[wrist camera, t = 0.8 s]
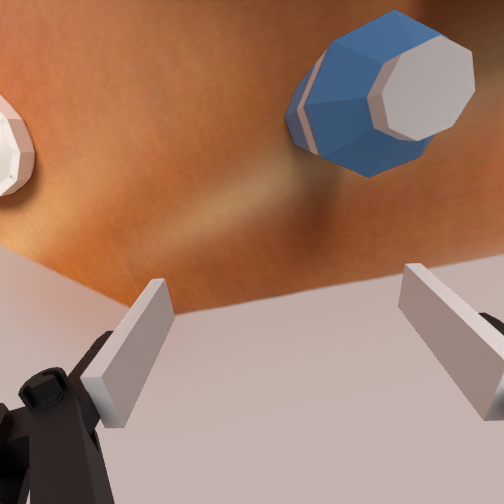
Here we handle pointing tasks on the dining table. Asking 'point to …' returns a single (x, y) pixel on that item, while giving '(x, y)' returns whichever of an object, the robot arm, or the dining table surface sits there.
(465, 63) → the water bottle
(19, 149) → the dish
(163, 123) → the dining table surface
